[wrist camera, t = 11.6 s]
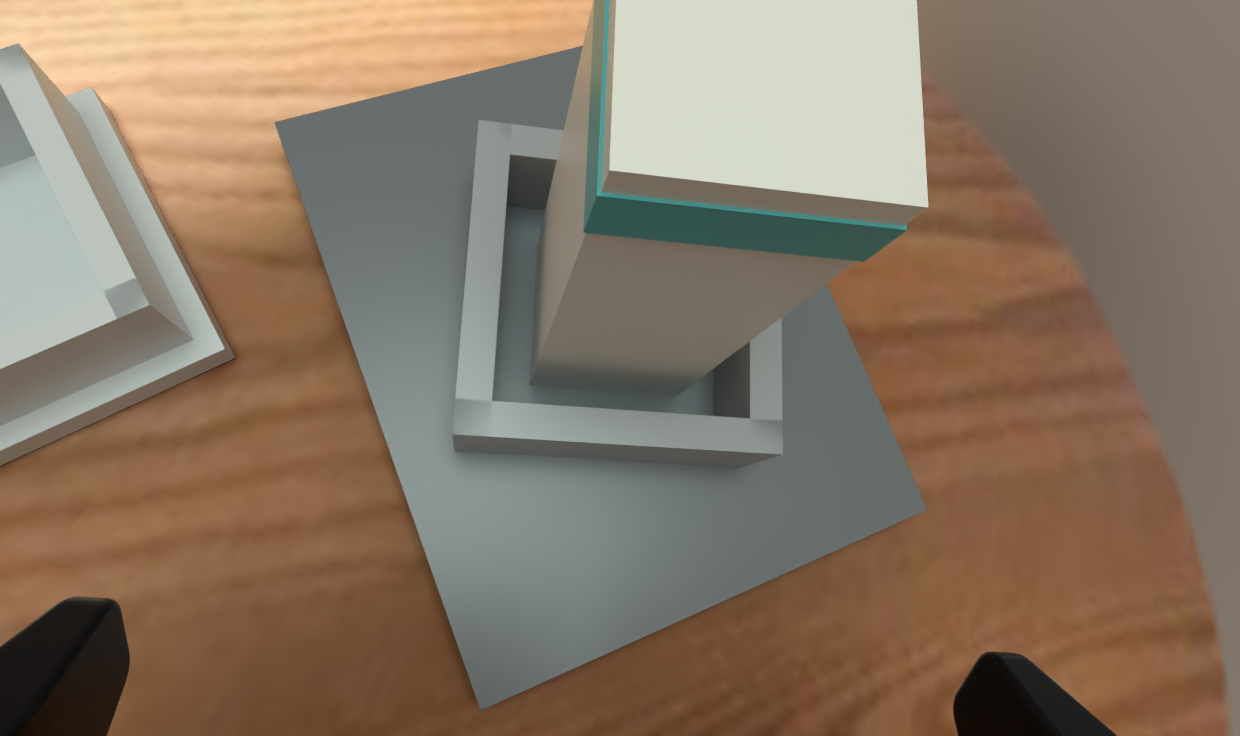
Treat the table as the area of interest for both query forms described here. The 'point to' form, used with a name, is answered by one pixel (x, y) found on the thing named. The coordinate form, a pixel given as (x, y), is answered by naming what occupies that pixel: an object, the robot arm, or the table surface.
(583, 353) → the plug
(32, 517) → the table surface
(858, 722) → the table surface
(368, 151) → the port panel
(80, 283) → the holster
